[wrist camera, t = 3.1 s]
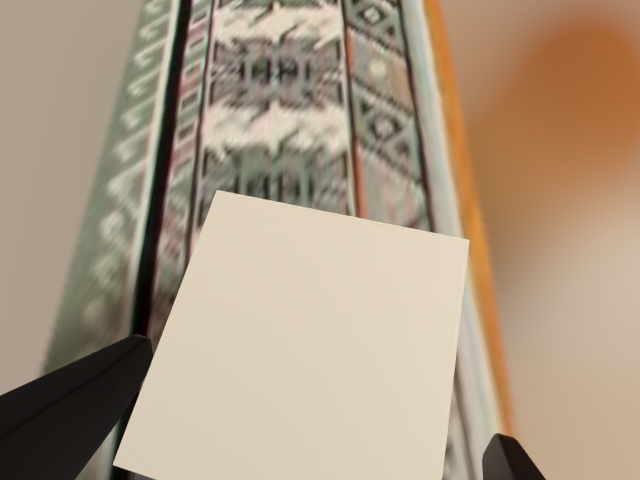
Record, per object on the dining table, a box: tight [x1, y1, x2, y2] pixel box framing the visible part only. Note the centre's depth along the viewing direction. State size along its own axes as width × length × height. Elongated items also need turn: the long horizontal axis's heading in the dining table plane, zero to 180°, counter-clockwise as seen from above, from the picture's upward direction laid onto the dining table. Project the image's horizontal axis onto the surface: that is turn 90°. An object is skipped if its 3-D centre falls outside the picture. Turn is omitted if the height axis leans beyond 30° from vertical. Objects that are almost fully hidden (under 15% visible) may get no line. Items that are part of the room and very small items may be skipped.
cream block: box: [113, 190, 469, 480], centre depth 11 cm, size 5×5×12 cm
